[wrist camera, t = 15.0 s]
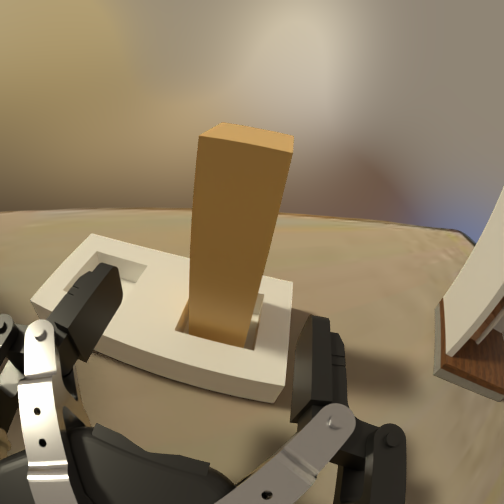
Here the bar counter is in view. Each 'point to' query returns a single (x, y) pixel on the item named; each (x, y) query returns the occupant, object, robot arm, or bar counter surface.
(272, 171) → the plug
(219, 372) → the white socket board
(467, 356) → the white tower
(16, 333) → the robot arm
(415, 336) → the bar counter surface
